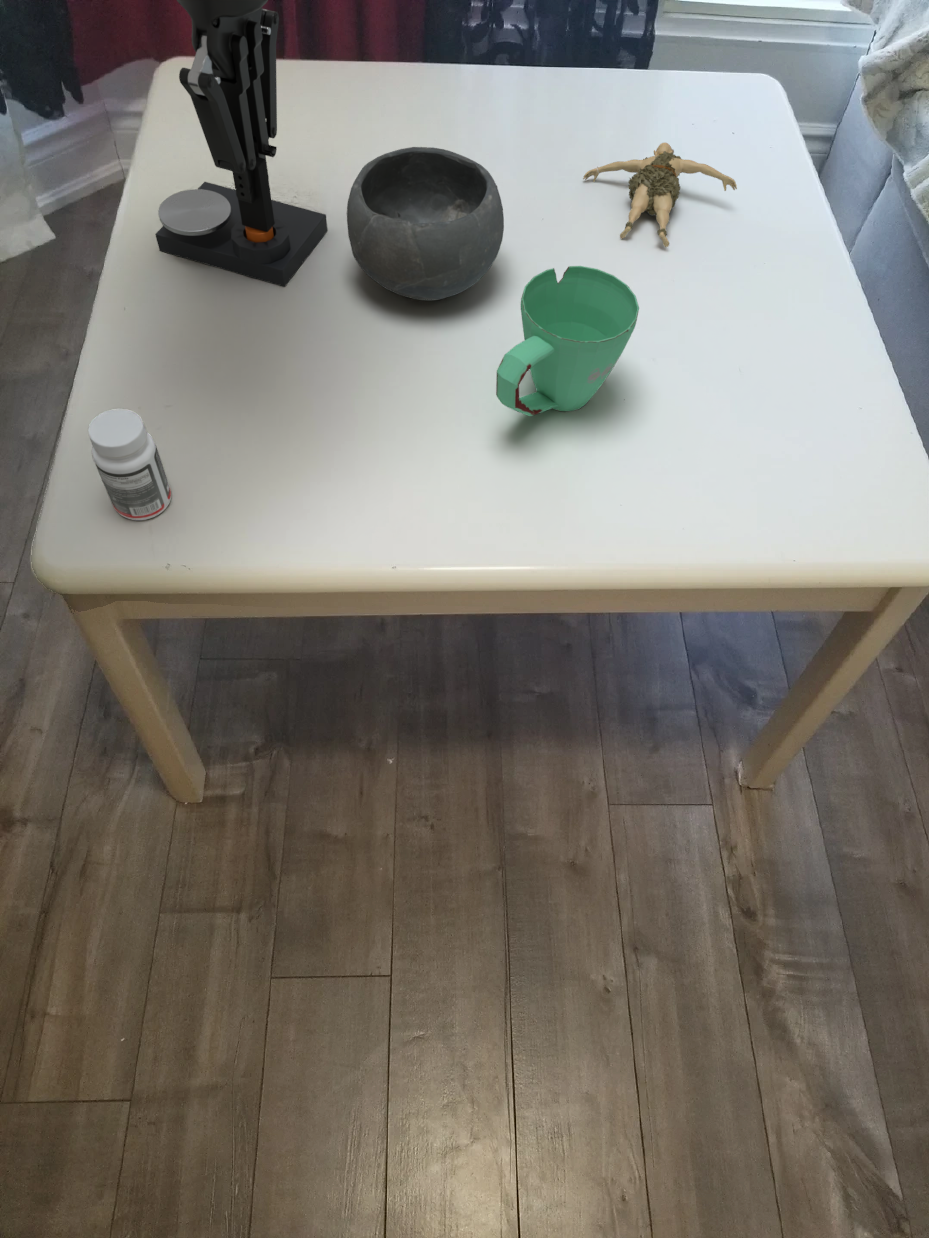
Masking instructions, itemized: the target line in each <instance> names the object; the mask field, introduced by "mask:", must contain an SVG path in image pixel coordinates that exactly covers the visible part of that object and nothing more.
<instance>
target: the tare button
mask: <svg viewBox="0 0 929 1238" xmlns="http://www.w3.org/2000/svg"><path fill="white" fill-rule="evenodd" d="M245 229H246V235H247V240H249V241H252V242H266V241H269V240H271V239H273V237H274V234H273V227H271V229H270V230H269V231H268V232H266V231H262V230H258V229H255V228H251V227H248V226H245Z"/></svg>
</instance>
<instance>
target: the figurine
mask: <svg viewBox="0 0 929 1238" xmlns="http://www.w3.org/2000/svg"><path fill="white" fill-rule="evenodd" d="M674 153H675V149H673V147H671V145H670V144H669V143H668V142H661V143H660V144H659V145H658V147H656V149H653V156H649V157H648V156H646V157H645V158H643V159H630V160H626V161H621V160H620V161H614V162H610V163H608V164H605V165H602V166H596V168H592V169H590V170H588V171H586V172H585V174H584V175H583V178H582V180H585V181H586V180H588V179H589V178H590V177H593V179H592V183H595V182H596V181H597V178H598V177H599V174H602V173H608V172H619V171H624V172H627V173H631V174H633V173H635V174H633V175H632V176H631V177H629V180H628V181H627V184H628V190H629V191H628V196H629V199H630V201H631V203H630V207H631V209H630V210H629V212H628V221H627V222H626V223H625V227H624V230H623V231H621V233H619V238H620V239H621V240H623V239H625V238H626V236H627V234H629V232H630V231H632V230H633V227H634V222H636V221H637V220H638V219H640V217H641V216H642V213H644V212H646V213H648V214H649V215H650V216H655V219H656V222H657V223H658V225H659V229H658V230H657V236H658V237H659V238H660V239H661V241H662V244H663V246H664V247H665V248H669V246H670V241H669V240H668V238H667V236H668V230H667V229H666V228H667V226H668V223H669V221H670V213H671V210H672V209H674V208H675V206H676V201H678V199H679V195H680V191H681V186H680V178H679V176H680V174H682V173H684V174H690V175H691V174H697V173H701V174H703V175H705V176H707V177H708V176H709V177H712V178H714V179H717V180H719V181H721V183H722V187H723V191H724V192H726V191H727V186H730V187H731V188H732V190H733V191H736V190H738V187H737V186H738V185H737V183H736V181H735V179H734V178H733V177H731V176H728V175H727V174H723V173H722V172H720V171H718V170H717V169H716V168H714V167H712V166H710V165H709V164H707V163H701V162H700V163H699V162H697V161H694V160H692V159H683V158H682V157H681V155H676V154H674Z"/></svg>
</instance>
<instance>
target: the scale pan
mask: <svg viewBox="0 0 929 1238" xmlns="http://www.w3.org/2000/svg"><path fill="white" fill-rule="evenodd" d="M157 211H158V212H157V215H158V218H159V221H160V224H161V225H162V226H164V227H165V228H167V229H168V230H170V231H172V232H174V233H177V234H181V235H188V236H197V235H205V234H209V233H212V232H215V231H217V230H219V229H221V228H222V227H224V226H225V225H226V224H227V223H228V221H229V220H230V218H231V214H232V211H231V206H230V203H229V201H228V200H227V199H226V198H225V197H224V196H222V195H221V194H219V193H216V192H213V191H210V190H203V189H198V188H193V189H187V190H182V191H181V190H180V191H178V192H176V193H173V194H171V195H169V196H168V197H166V198H165V199H164V200H163V201H162V202H161V204H159V207H158V209H157Z"/></svg>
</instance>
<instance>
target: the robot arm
mask: <svg viewBox="0 0 929 1238" xmlns="http://www.w3.org/2000/svg"><path fill="white" fill-rule="evenodd" d="M268 1H269V0H176V2H177V3H178V4H179V5H180V7H182V8H183V9H184V10H185V11H186V12H187V14H188V15H189V17H190V19H191V45H192V47H193V50H194V52H195V55H194V57H193V58H194V59H193V61H192V65H191V68H188V67H181V68H180V70H179V74H178V79H179V83H180V85H181V86H182V87H183V88H184V90H185V91H186V92H187V94H188V95H189V97H190V99H191V102H192V104H193V107H194V111H195V113H196V115H197V119H198V122H199V124H200V128H201V130H202V132H203V135H204V138H205V141H206V144H207V146H208V149H209V152H210V156H211V158H212V161H213V163H214V166H215V167H216V168H219V169H222V170H226V171H230V172H232V177H233V183H234V184H233V185H234V188H235V189H234V190H236V196H237V198H238V202H239V208H240V214H241V220H242V225H244V226H248V227H251V228H255V229H258V230H262V231H266V232H268V231H269V230H270V229H271V227H272V226H273V225H274V224H275V223H274V215H273V208H272V201H271V200H272V195H271V194H272V193H271V187H270V180H269V172H268V170H269V169H268V163H267V158H266V157H270V158H275V156H276V155H277V146H274V145H272V144H270V141H269V140H270V139H275V138H276V137H277V135H278V134H277V133H278V99H277V40H278V30H279V26H280V25H279V23H280V15H279V13H278V11H274V10H271V9H265V8H263V7H264V6H265V5H266V4H267V3H268Z"/></svg>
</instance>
